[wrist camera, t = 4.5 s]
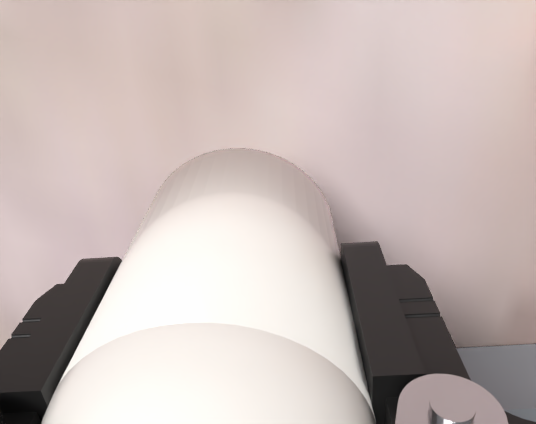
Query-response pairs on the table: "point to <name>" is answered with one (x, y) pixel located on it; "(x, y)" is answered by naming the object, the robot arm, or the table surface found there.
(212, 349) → the egg
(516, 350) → the egg tray
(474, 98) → the table surface
